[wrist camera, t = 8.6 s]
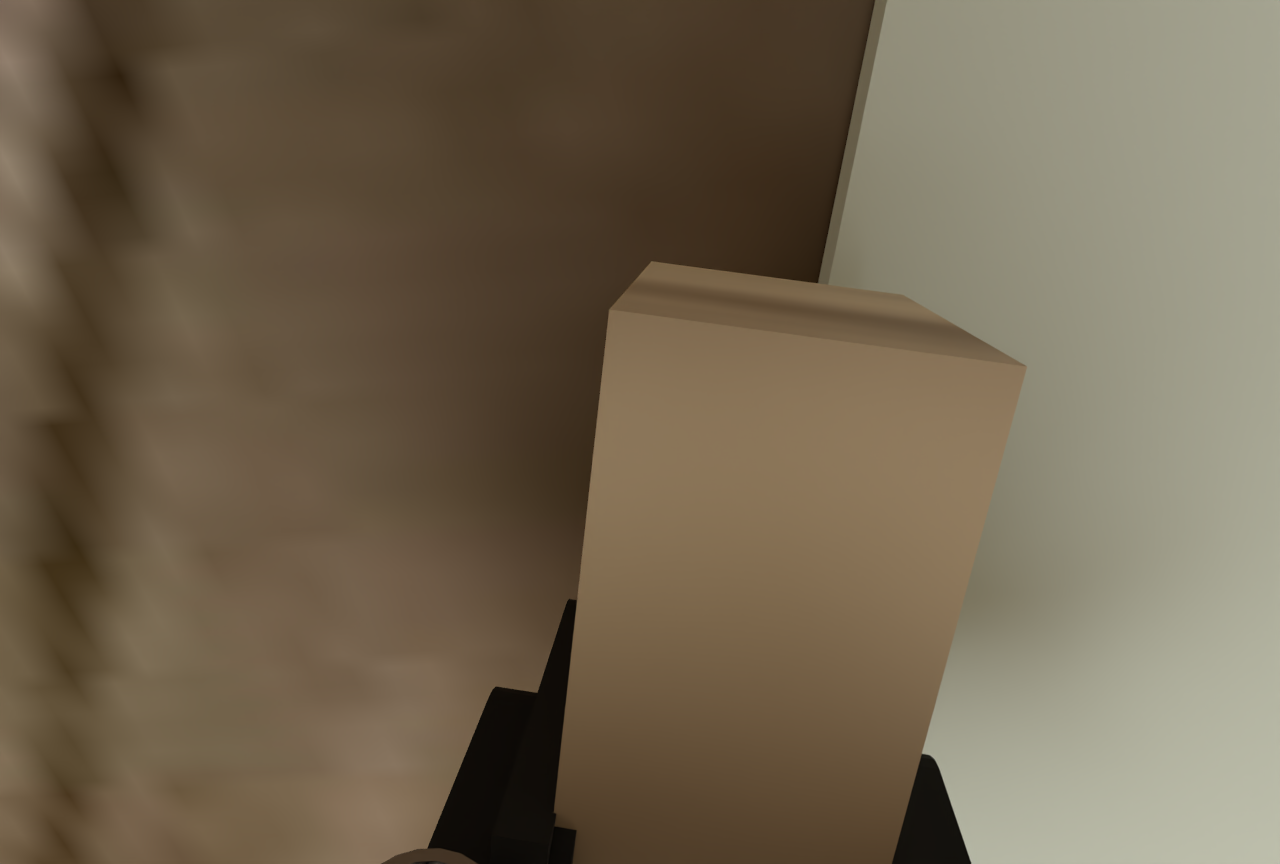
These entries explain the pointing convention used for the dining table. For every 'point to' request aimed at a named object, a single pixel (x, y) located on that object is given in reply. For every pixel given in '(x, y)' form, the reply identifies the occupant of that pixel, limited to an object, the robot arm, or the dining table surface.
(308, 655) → the dining table surface
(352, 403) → the dining table surface
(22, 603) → the dining table surface
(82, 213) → the dining table surface
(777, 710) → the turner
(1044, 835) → the board
